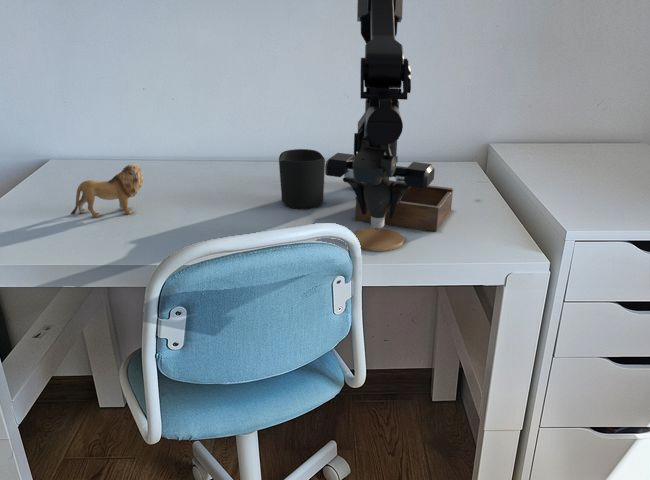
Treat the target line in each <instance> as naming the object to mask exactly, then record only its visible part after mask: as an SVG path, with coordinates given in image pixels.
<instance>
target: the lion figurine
mask: <svg viewBox="0 0 650 480" xmlns="http://www.w3.org/2000/svg"><path fill="white" fill-rule="evenodd" d="M143 183H144V178H143V174H142V168H141V167H140V166H137V165H135V164H127V165H126V166H124V167H123V168H122V170H121V171H120V172H119V173H117V174H115V175H114V176H113V177H112V178H111V179H110V180H107V181H98V180H93V179H89V180H88V179H87V180H84V181H82V182H81V183H80V184H79V185H78V187H77V189H76V195H75V205H74V208H73V210H71V212H70V216H72V215H76V214H77V211H78V212H79V213H81V214H83V213H86V212H87V210H88V212H89V213H90V214H91V216H92V217H94V218H99V217H100V213H99V212H96V211H95V210H94V204H95V199H96V197H97V198H99V199H102V200H106V201H113V200H118V203H119V208H120V210H122V211H123V212H124V213H125V214H126V215H131V214H132V210H130V209H129V199H130V198H134V197H136V195H137V194H138V191H139V190H140V189H141V188H142V186H143ZM81 193H82V195H81ZM86 203H87V209H86V208H83V207H84V205H85V204H86Z"/></svg>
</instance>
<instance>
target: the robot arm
mask: <svg viewBox="0 0 650 480" xmlns="http://www.w3.org/2000/svg"><path fill="white" fill-rule="evenodd" d="M403 3H404V0H357V5H356V6H357V7H356V8H357V9H356V10H357V11H356V21H357V22H360V35H361V37H362V38H363V40H364V42H365V45H364V57H360V74H359V75H360V79H359V80H360V87H359V88H360V91H359V92H360V95H359V96H360V97H359V99H360V100H365V103H364V113H363V115H362V116H361V117H360V119H359V120H358V121H357V132H354V136H353V153H352V154H351V153H344V152H336V153H335V154H334V155H332V156H331V157H330V158H328V159H327V160H325V172H324V176H326V177H327V176H328V177H334V178H341V177H343V178H342V181H343V182H344V183H347V184H349V186H351V188H352V190H353V192H354V194H355V198H356V197H357V200H358V203H359V206H360V209H361V212H362V214H363V215H365V214H366V212H367V203H366V201H365V199H364V194H363V190H364V186H365V184H366V183H370V184H372V185H378V184H380V183H381V181H382V178H385V177H386V178H388V179H389V180H390V178H395V181H396V182H395V183H394V184H393V185H392V186H391V188H392V198H391V205H390V219H392V218H393V217H394V214H395V212H396V210H397V207H398V205H399V203H400V200H401V198H402V196H403V194H404V192H405V190H408V189H409V188H410V187H418V188H427V187H428V185H430V184H431V183H432V182H433V181H434V180H435V170H436V169H435V167H434V165H433V164H432V163H427V162H418V161H412V163H410V164H409V165H408V166H401V165H397V164H398V161H399V160H398V159H399V157H398V155H397V154H398V153H397V152H398V140H399V139H400V137H401V135H402V132H403V130H404V129H403V128H404V123H403V120H402V119H403V118H402V116H401V112H400V101H399V100H401V101H402V100H404V101H405V100H408V94H411V91H412V90H411V89H412V75H411V72H412V71H411V69H412V68H411V65H410V64H409V60H408V58H405V55H404V47H403V44H402V43H400V42H399V41H398V40H396V36H397V34H398V23H402V20H403Z"/></svg>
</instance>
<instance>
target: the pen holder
mask: <svg viewBox="0 0 650 480" xmlns="http://www.w3.org/2000/svg"><path fill="white" fill-rule="evenodd" d="M325 165H326V158H325V157H324V156H323V154H322V153H321V152H320V151H318V150H315V149H308V148H307V149H306V148H297V149H288V150H285V151H282V152H281V153H280V154H279V157H278V168H279V180H280V193H281V202H282V204H283V205H284V206H285V207H288V208H291V209H297V210H309V209H315V208H318V207H320V206H321V205H322V204H323V202H324V193H325V192H324V191H325Z"/></svg>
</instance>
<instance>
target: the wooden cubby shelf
mask: <svg viewBox="0 0 650 480" xmlns="http://www.w3.org/2000/svg"><path fill="white" fill-rule="evenodd" d="M389 180H390V181H391V182H392V184H394V183H395V182H396V180H391V179H389ZM453 194H454V188H452V187H445V186H438V185H430V184H429V185H428V187H427V188H418V187H410V188H409V189H408V190H405V192H404V194H403V196H402V198H401V200H400V203H399V205H398V207H397V210H396V212H395V214H394V217H393V218H392V219H390V205H391V204H390V205H389V207H388V209H387V211H386V215H385V219H384V225H389V226H396V227H402V228H409V229H416V230H423V231H430V232H437V231H438V230H439V229H440V227H441V226H442V224H443V223H444V222H445V220H446V219H447V217H448V216H449V214H450V213H451V212H452V206H453V205H452V203H453ZM355 221H360V222H361V221H362V222H368V223H371V215H370V210H369V207H368V205H367V212H366V214H365V215H363V214H362V212H361V209H360V206H359V203H358V200H357V197H356V196H355Z"/></svg>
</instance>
